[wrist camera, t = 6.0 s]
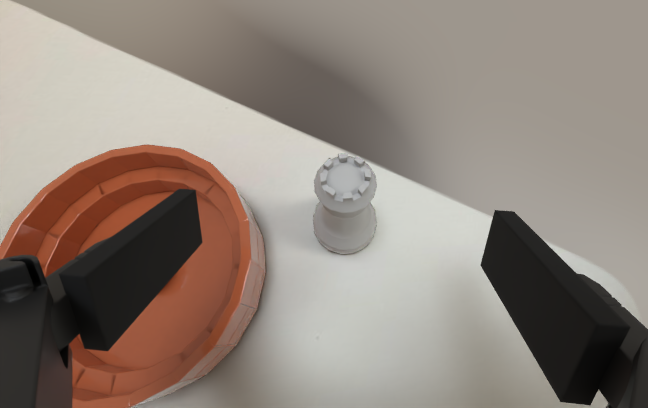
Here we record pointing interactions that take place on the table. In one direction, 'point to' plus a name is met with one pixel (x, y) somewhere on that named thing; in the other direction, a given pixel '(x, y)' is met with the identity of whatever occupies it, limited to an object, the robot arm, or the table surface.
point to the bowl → (177, 295)
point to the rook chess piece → (345, 204)
